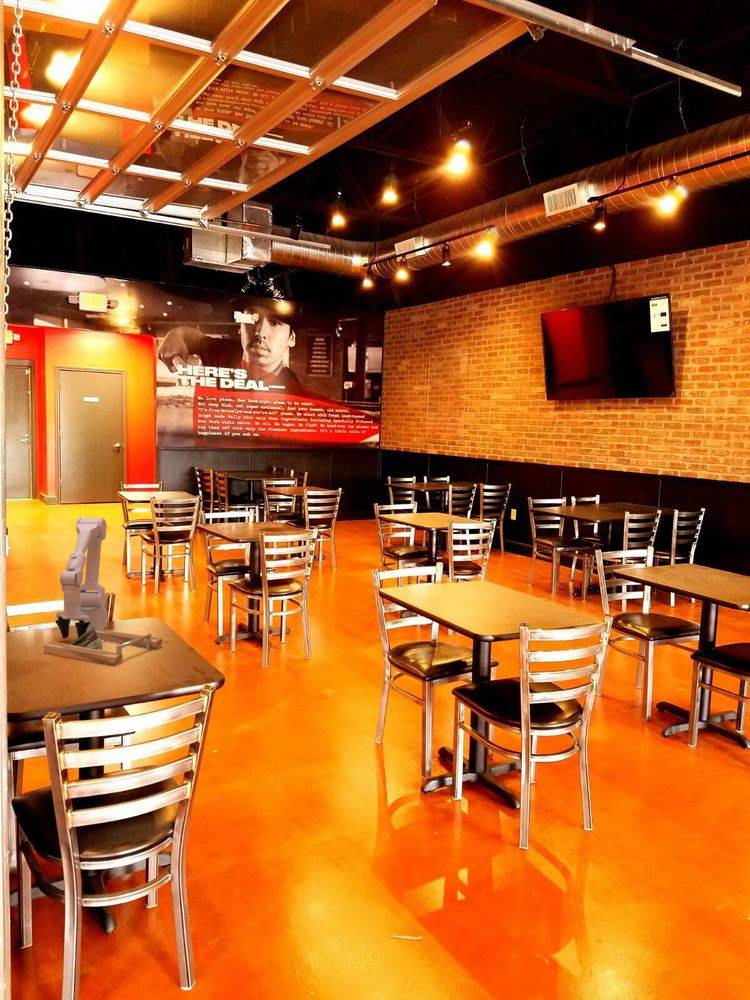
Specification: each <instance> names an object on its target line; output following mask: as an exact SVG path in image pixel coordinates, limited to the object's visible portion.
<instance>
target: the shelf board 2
mask: <svg viewBox="0 0 750 1000" xmlns="http://www.w3.org/2000/svg"><path fill="white" fill-rule="evenodd" d="M87 631H89V630H87ZM95 631H96V633H97V636H98V637H99V638H100V639H101V640H104V641H103V642H106V641H110V642H109V643H112V642H116V643H115V644H117V643H121V644H124V643H126V642H129V641H132V640H135V639H137V638H140V637H143V636H144V635H140V634H135V633H134V634H133V633H128V632H122V631H116V630H110V629H106V630H105V629H99V628H95ZM151 640H152V649H154V650H153V651H156V650H158V649H161V648H163V638H160V637H159V638H158V637H154V636H151ZM121 644H120V645H121ZM135 646H136V648H141V647H143V648H142V649H146V648H147V639H144V640H142V641H139V642H136V643H134V644H131V647H135ZM160 647H161V648H160ZM157 648H158V649H157ZM152 649H151V650H152ZM155 649H156V650H155Z"/></svg>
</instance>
